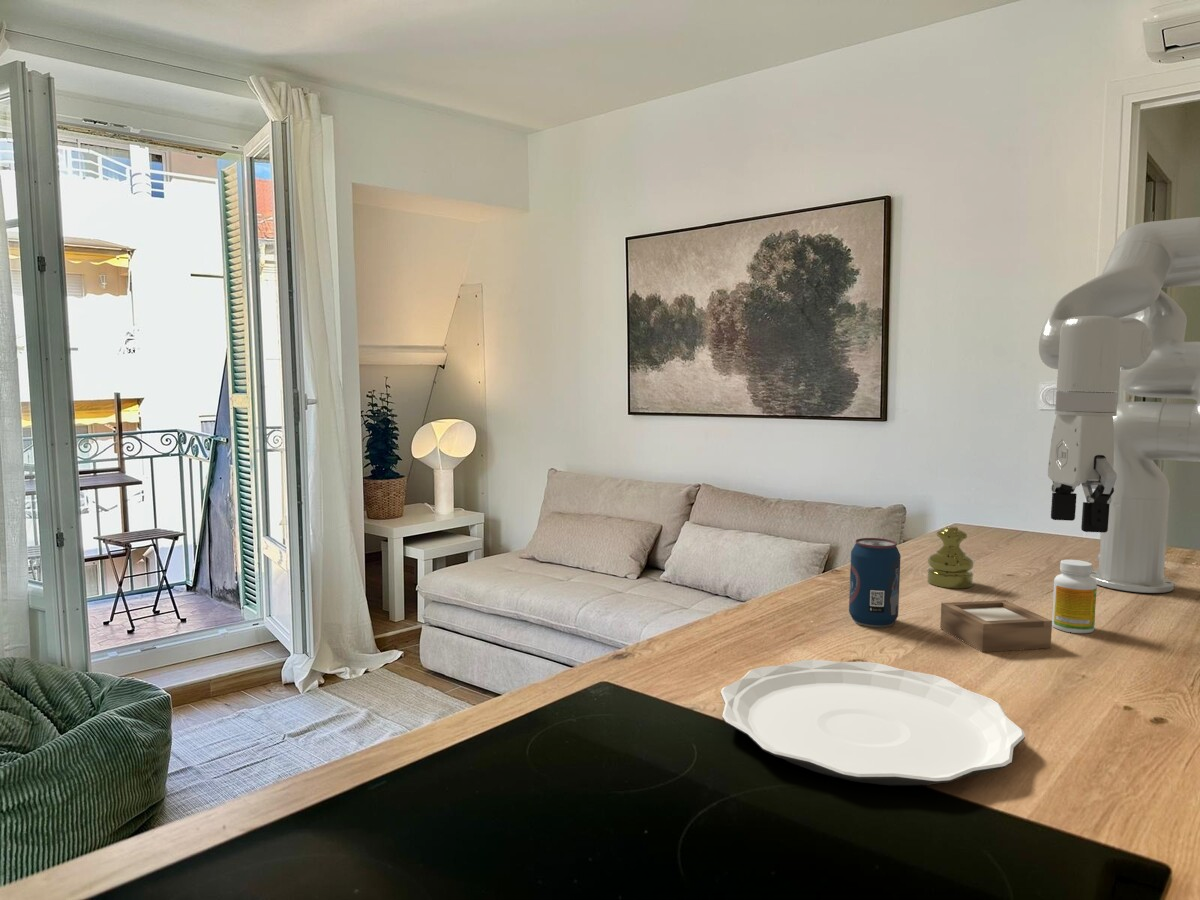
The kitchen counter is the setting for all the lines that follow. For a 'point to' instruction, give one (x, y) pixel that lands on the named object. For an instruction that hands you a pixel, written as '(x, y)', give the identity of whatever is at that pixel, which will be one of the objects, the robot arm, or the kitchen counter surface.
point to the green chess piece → (950, 561)
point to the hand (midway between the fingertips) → (1077, 525)
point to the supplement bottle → (1074, 597)
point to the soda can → (874, 582)
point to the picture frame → (996, 625)
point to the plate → (871, 722)
